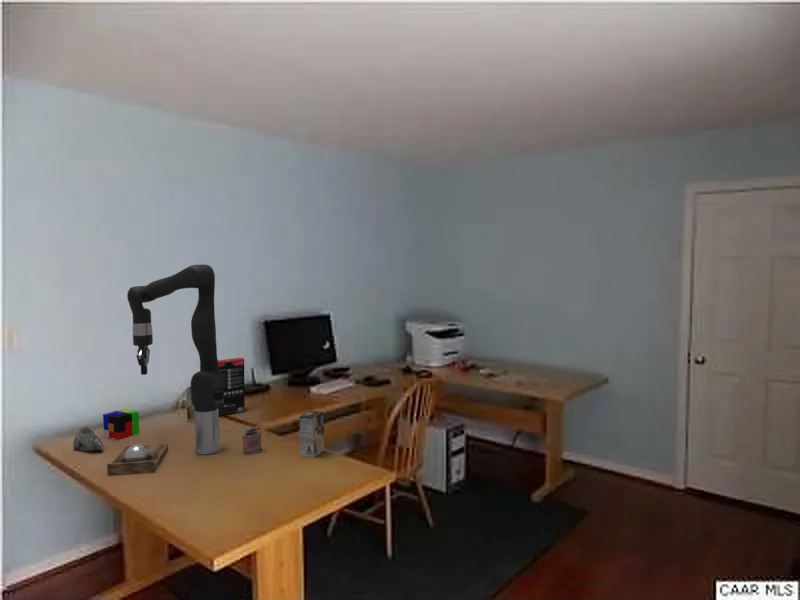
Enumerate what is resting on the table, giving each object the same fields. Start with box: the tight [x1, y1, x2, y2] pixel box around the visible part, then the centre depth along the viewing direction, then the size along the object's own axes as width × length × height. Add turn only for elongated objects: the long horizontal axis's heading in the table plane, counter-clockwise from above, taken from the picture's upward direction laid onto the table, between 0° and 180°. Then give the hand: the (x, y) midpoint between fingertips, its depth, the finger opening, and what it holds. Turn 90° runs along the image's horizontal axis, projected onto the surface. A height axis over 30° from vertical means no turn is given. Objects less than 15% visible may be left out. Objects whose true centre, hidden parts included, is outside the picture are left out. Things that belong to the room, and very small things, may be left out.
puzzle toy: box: [102, 408, 140, 441], centre depth 256 cm, size 10×10×10 cm
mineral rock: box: [72, 426, 104, 452], centre depth 236 cm, size 13×11×10 cm
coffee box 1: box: [185, 386, 195, 423], centre depth 277 cm, size 9×6×16 cm
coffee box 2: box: [299, 410, 325, 458], centre depth 233 cm, size 9×6×16 cm
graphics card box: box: [213, 357, 246, 417], centre depth 288 cm, size 17×7×27 cm, turn 130°
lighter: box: [241, 426, 263, 455], centre depth 234 cm, size 8×3×10 cm, turn 129°
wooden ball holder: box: [106, 443, 169, 476], centre depth 224 cm, size 16×24×4 cm, turn 11°
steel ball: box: [125, 444, 148, 462], centre depth 220 cm, size 8×8×8 cm
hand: (144, 374), depth 245 cm, fingers closed
